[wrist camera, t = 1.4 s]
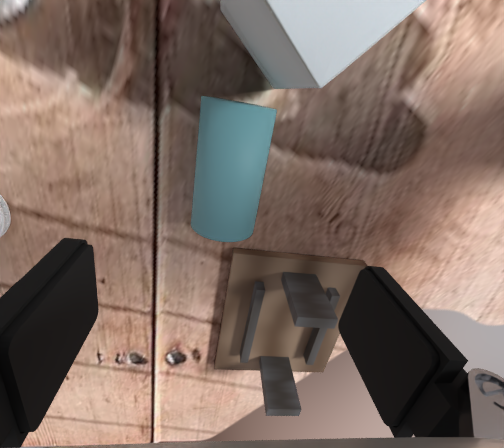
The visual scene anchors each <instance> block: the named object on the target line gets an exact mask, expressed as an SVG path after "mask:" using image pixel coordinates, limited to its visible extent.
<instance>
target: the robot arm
mask: <svg viewBox="0 0 504 448" xmlns="http://www.w3.org/2000/svg"><path fill="white" fill-rule="evenodd" d="M97 315H98V299H97V287H96V275H95V264H94V252H93V247H92V245H88V244H87V241H86V240H82V239H71V238H64V239H62V240H61V241H60V242H59V243H58V244H57V245H56V246H55V247H54V248H53V249H52V250H51V251H50V252H49V253H48V254H46V255H45V256H44V257H43V258H42V259H41V260H40V261H39V262H38V263H37V264H36V265H35V266H34V267H33V268H32V269H31V270H30V271H29V272H28V273H27V274H26V275H25V276H23V277H22V278H21V279H20V280H19V281H18V282H16V283H15V284H14V285H13V286H12V287H11V288H10V289H9V290H8V291H7V292H6V293H5V294H4V295H3V296H2V297H1V298H0V448H20V447H21V445H22V444H23V442H24V440H25V438H26V436H27V435H28V433H29V432H34V431H35V430H36V429H37V428H38V427H39V425H40V423H41V422H42V420H43V418H44V416H45V414H46V412H47V410H48V409H49V407H50V405H51V403H52V401H53V399H54V397H55V395H56V394H57V392H58V390H59V388H60V386H61V384H62V382H63V381H64V379H65V377H66V375H67V373H68V371H69V369H70V368H71V366H72V364H73V362H74V360H75V358H76V356H77V354H78V353H79V351H80V349H81V347H82V345H83V343H84V341H85V340H86V338H87V336H88V334H89V332H90V330H91V328H92V327H93V325H94V323H95V321H96V319H97ZM338 329H339V332H340V334H341V336H342V338H343V340H344V342H345V345H346V347H347V349H348V351H349V353H350V355H351V357H352V359H353V361H354V363H355V365H356V367H357V369H358V371H359V373H360V375H361V377H362V379H363V381H364V383H365V385H366V387H367V390H368V392H369V394H370V396H371V398H372V400H373V402H374V404H375V406H376V408H377V410H378V412H379V414H380V416H381V418H382V420H383V422H384V423H385V424H386V425H387V426H389V427H390V429H391V432H392V434H393V435H394V438H349V439H302V440H261V441H260V440H259V441H221V442H220V441H218V442H183V443H149V444H115V445H87V446H66V447H45V448H504V379H503V378H502V377H500V376H498V375H496V374H494V373H492V372H490V371H487V370H484V369H479V368H478V369H472V370H471V371H469V372H468V373H466V371H465V370H464V369H463V367H464V366H465V364H466V363H467V361H468V360H467V359H466V358H465V357H464V356H463V354H462V353H461V352H460V351H459V350H458V349H457V348H456V347H455V346H454V345H453V344H452V342H451V341H450V340H449V339H448V338H447V337H446V336H445V335H444V334H443V333H442V332H441V330H440V329H439V328H438V327H437V326H436V325H435V324H434V323H433V321H432V320H431V319H430V318H429V317H428V316H427V315H426V314H425V313H424V312H423V310H422V309H421V308H420V307H419V306H418V305H417V304H416V303H415V302H414V301H413V299H412V298H411V297H410V296H409V295H408V294H407V293H406V292H405V291H404V290H403V288H402V287H401V286H400V285H399V284H398V283H397V282H396V281H395V280H394V279H393V277H392V276H391V275H390V274H389V273H388V272H387V271H386V270H385V269H384V268H382V267H374V266H366V267H365V268H364V269H362V270H361V271H360V272H359V274H358V276H357V279H356V281H355V284H354V286H353V289H352V291H351V293H350V296H349V298H348V301H347V303H346V306H345V308H344V310H343V313H342V315H341V318H340V320H339V323H338ZM413 434H414V436H415V437H412V436H413Z"/></svg>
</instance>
